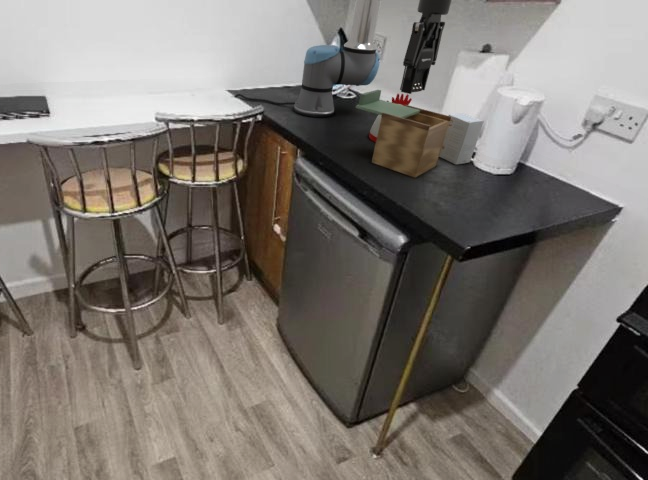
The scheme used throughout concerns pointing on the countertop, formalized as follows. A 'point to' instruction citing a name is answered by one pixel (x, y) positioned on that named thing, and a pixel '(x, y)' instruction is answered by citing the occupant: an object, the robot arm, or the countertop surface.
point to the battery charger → (421, 68)
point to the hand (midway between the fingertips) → (412, 90)
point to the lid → (383, 105)
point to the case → (410, 141)
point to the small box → (461, 138)
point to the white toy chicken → (376, 124)
